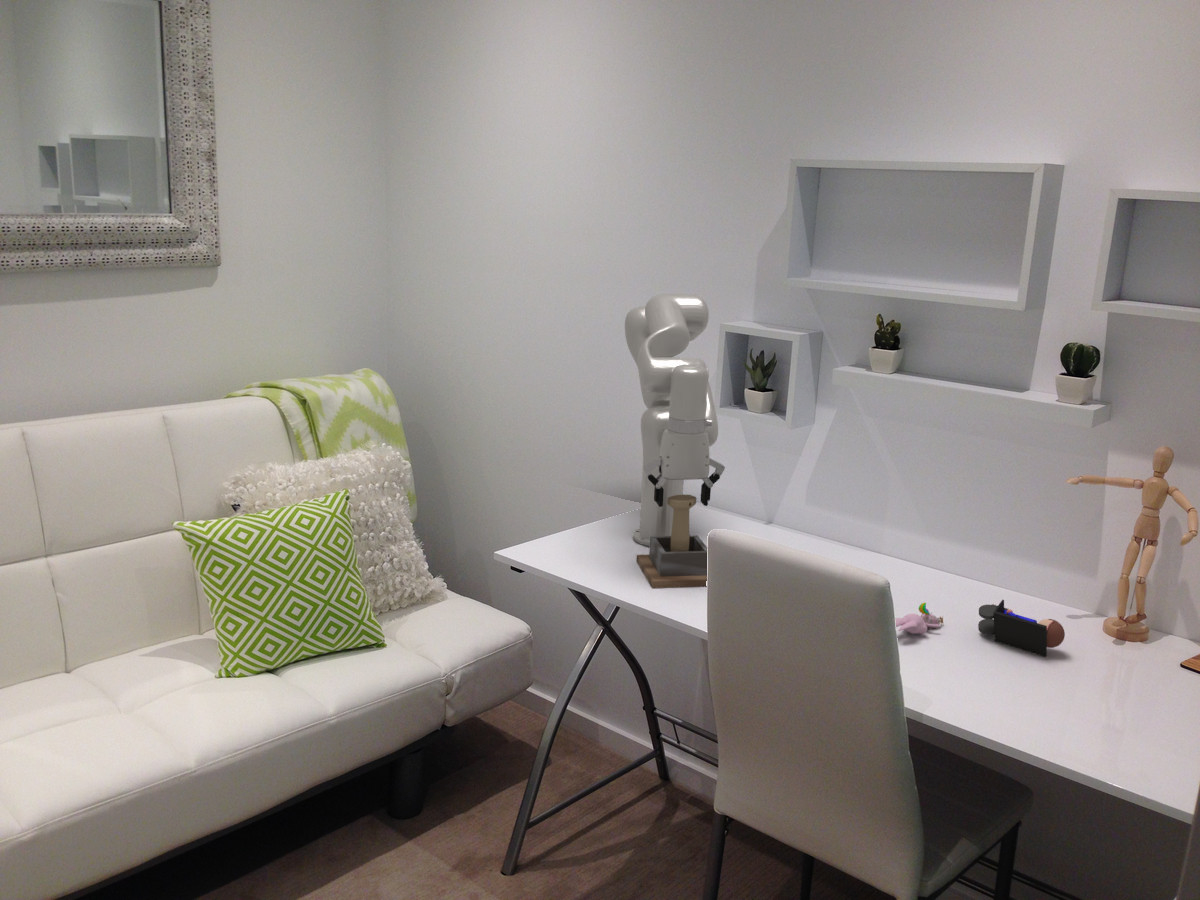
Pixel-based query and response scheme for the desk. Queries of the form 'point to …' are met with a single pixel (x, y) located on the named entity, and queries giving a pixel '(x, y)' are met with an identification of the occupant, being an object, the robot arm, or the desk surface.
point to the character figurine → (1020, 629)
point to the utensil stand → (674, 564)
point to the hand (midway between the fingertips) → (681, 504)
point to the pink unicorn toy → (918, 621)
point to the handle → (680, 521)
